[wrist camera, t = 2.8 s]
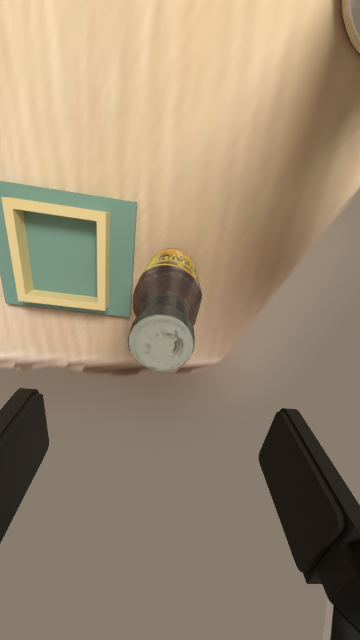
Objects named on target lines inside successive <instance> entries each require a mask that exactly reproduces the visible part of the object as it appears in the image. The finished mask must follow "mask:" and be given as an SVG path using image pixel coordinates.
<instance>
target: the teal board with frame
mask: <svg viewBox="0 0 360 640" xmlns="http://www.w3.org/2000/svg"><path fill="white" fill-rule="evenodd" d="M136 212H137V203H136V202H130V201H124V200H117V199H111V198H105V197H98V196H92V195H85V194H79V193H73V192H66V191H60V190H54V189H47V188H41V187H35V186H28V185H22V184H16V183H9V182H3V181H0V276H1V281H2V286H3V292H4V297H5V302H6V303H9V304H17V305H26V306H35V307H44V308H53V309H62V310H70V311H79V312H88V313H97V314H106V315H115V316H123V317H130V315H131V300H132V282H133V264H134V247H135V229H136Z"/></svg>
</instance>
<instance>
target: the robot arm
mask: <svg viewBox="0 0 360 640" xmlns="http://www.w3.org/2000/svg"><path fill="white" fill-rule="evenodd" d="M342 13H343V18H344V23H345V27H346V31H347V33H348V36H349V38H350V40H351V43H352V44H353V46H354V47H355V48H356V50H357V51H358V52H359V54H360V0H342ZM48 446H49V438H48V431H47V423H46V415H45V408H44V400H43V395H42V394H39V392H38V390H37V389H24V388H20V389H18V390H17V391H16V392H15V394H14V395H13V396H12V397H11V398H10V399H9V400H8V402H7V403H6V404H5V405H4V406H3V408H2V409H1V410H0V543H1V541H2V539H3V537H4V535H5V533H6V531H7V529H8V527H9V525H10V523H11V521H12V519H13V517H14V515H15V513H16V511H17V509H18V507H19V505H20V503H21V501H22V499H23V497H24V495H25V493H26V491H27V489H28V487H29V485H30V484H31V482H32V480H33V478H34V476H35V474H36V472H37V470H38V468H39V466H40V464H41V462H42V460H43V458H44V456H45V454H46V452H47V449H48ZM259 463H260V466H261V468H262V471H263V474H264V477H265V480H266V482H267V485H268V488H269V491H270V493H271V496H272V499H273V502H274V505H275V507H276V510H277V513H278V516H279V518H280V521H281V524H282V526H283V530H284V533H285V535H286V538H287V541H288V544H289V546H290V549H291V552H292V555H293V558H294V560H295V563H296V565H297V567H298V569H299V570H300V571H301V572H303V574H304V577H305V580H306V583H307V584H322V585H323V587H324V589H325V592H326V594H327V597H328V599H327V608H326V617H325V625H324V634H323V640H360V505H359V504H358V502H357V501H356V499H355V498H354V496H353V494H352V493H351V491H350V490H349V488H348V487H347V485H346V484H345V482H344V481H343V479H342V477H341V476H340V474H339V473H338V471H337V470H336V468H335V467H334V465H333V463H332V462H331V460H330V459H329V457H328V456H327V454H326V453H325V451H324V450H323V448H322V447H321V445H320V443H319V442H318V440H317V439H316V437H315V436H314V434H313V433H312V431H311V429H310V428H309V426H308V425H307V423H306V422H305V420H304V419H303V417H302V416H301V414H300V412H299V411H298V410H296V409H284V408H282V409H281V410H280V411H279V412H277V413H276V415H275V417H274V420H273V422H272V424H271V427H270V429H269V431H268V434H267V436H266V438H265V441H264V443H263V446H262V448H261V450H260V453H259Z"/></svg>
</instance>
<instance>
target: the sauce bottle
mask: <svg viewBox="0 0 360 640" xmlns="http://www.w3.org/2000/svg"><path fill="white" fill-rule="evenodd" d="M201 298H202V294H201V288H200V284H199V280H198V277H197V273H196V269H195V266H194V263H193V261H192V260H191V258H190V257H189V256H188V255H187V254H186V253H184V252H182V251H180V250H177V249H165V250H162V251H160V252H158V253H157V254H156V255H155V256H154V257H153V258H152V259H151V261H150V262H149V264H148V266H147V268H146V269H145V271H144V272H143V274H142V276H141V277H140V279H139V281H138V284H137V285H136V288H135V291H134V294H133V309H134V313H135V315H136V317H137V318H136V319H135V321H134V322H133V324H132V327H131V330H130V333H129V338H128V345H129V351H130V352H131V354H132V356H133V357H134V359H135V360H136V361H137V362H138V363H139V364H140V365H142V366H144V367H147V368H149V369H151V370H153V371H168V370H173V369H177V368H179V367H180V366H182V365H183V364H185V362H186V361H187V360H189V358H190V356H191V354H192V353H193V350H194V338H195V337H194V329H193V325H194V324H195V321H196V317H197V314H198V310H199V306H200V303H201Z"/></svg>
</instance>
